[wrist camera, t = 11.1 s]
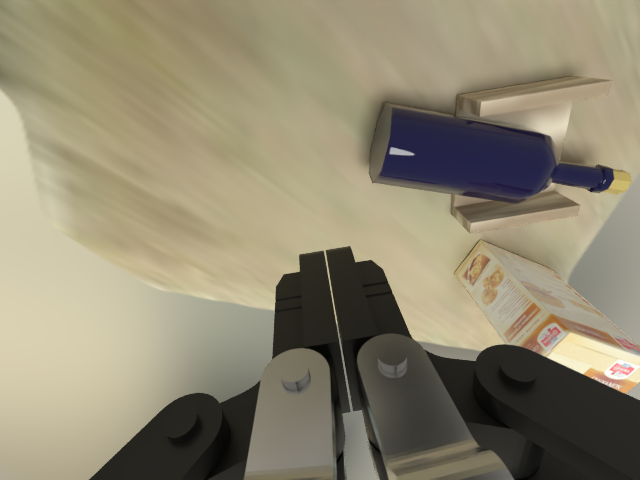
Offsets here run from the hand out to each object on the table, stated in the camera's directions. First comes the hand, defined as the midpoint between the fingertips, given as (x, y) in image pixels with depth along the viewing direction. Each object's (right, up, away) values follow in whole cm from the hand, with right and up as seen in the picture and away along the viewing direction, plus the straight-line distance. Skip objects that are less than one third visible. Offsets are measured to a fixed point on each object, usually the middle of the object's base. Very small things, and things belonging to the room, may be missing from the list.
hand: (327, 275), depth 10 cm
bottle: (+6, +12, +29) cm, 32 cm away
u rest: (+24, +13, +35) cm, 45 cm away
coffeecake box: (+29, -4, +45) cm, 54 cm away
